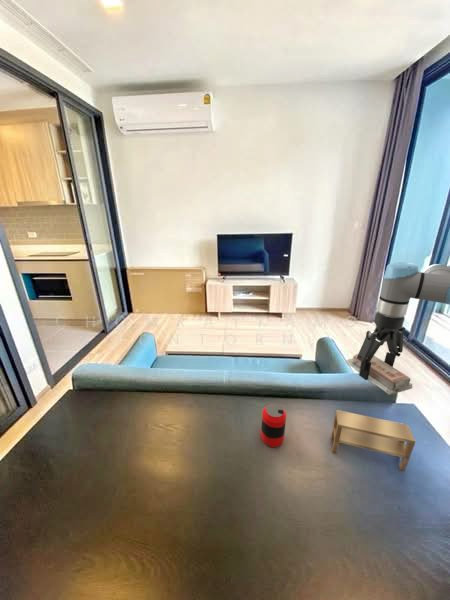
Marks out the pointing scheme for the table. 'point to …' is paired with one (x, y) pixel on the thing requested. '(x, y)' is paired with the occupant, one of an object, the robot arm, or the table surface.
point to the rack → (373, 435)
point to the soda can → (273, 425)
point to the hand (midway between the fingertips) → (375, 374)
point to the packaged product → (383, 375)
